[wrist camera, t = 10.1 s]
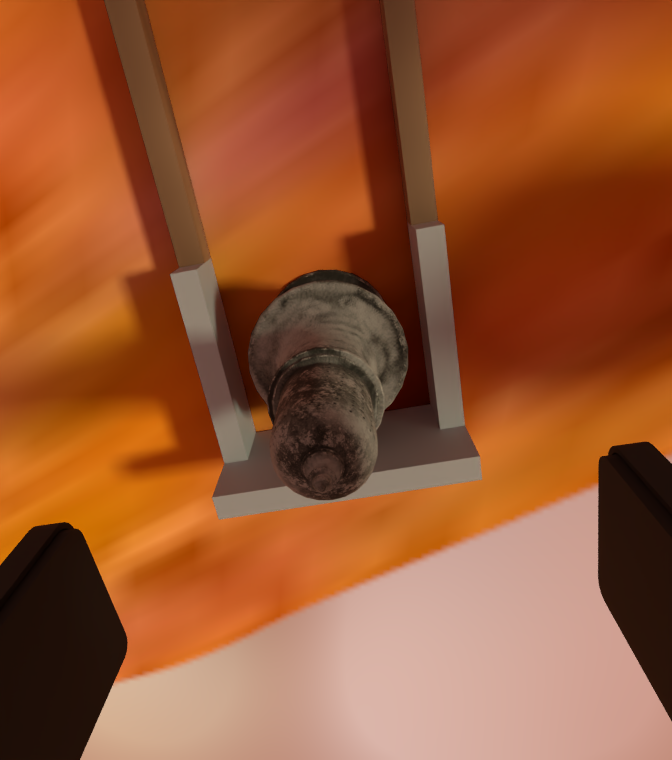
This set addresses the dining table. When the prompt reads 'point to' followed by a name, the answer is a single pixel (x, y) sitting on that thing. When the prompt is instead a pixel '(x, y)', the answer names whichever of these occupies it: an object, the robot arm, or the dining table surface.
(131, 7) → the channel
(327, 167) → the dining table surface
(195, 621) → the dining table surface
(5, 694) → the robot arm
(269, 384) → the dark grey chess piece
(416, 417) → the socket
